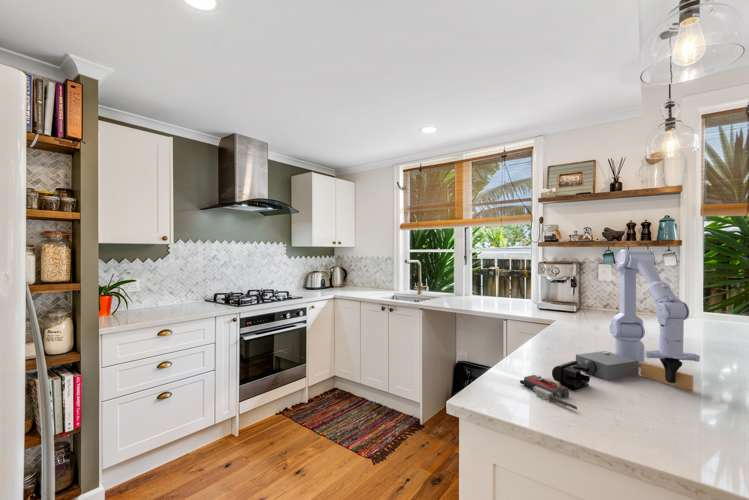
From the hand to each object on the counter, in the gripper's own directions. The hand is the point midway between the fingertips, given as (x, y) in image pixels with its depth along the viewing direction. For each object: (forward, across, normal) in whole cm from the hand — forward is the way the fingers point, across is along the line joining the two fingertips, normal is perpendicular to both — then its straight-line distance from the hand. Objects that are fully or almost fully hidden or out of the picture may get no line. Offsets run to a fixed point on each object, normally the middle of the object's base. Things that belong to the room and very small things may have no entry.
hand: (670, 381), depth 110 cm
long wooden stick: (+1, 0, +3) cm, 3 cm away
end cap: (+2, -31, -5) cm, 31 cm away
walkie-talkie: (+2, -39, -15) cm, 42 cm away
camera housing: (+2, -14, +11) cm, 18 cm away
